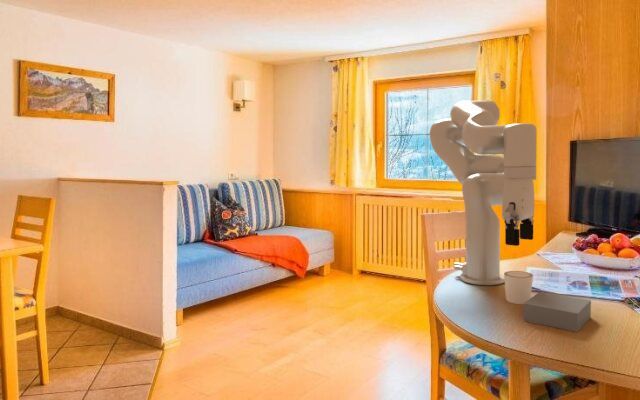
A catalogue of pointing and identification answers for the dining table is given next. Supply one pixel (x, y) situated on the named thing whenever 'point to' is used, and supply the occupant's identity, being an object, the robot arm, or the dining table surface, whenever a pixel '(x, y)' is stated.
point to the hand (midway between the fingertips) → (519, 242)
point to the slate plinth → (557, 311)
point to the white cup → (518, 286)
